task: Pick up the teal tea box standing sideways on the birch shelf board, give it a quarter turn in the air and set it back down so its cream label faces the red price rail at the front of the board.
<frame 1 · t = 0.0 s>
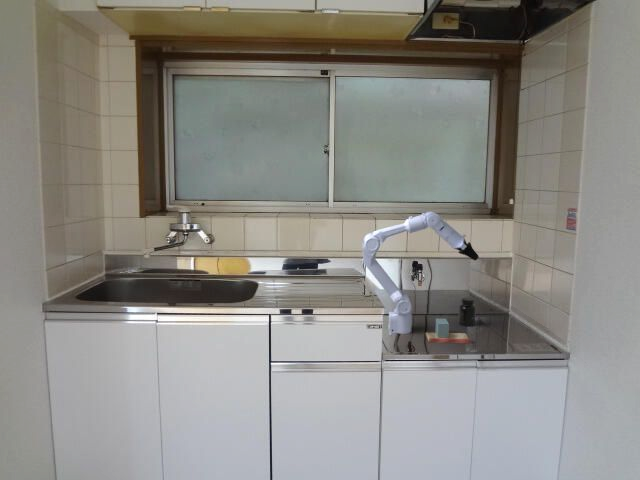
hand: (474, 256, 178), 32 cm above the worktop, tool tilted 50°, fingers open, 7 cm apart
tea box: (441, 335, 179), point 1 cm above the worktop, touching shelf board
shelf board: (447, 340, 177), on the worktop
supplement bottle: (466, 326, 192), on the worktop
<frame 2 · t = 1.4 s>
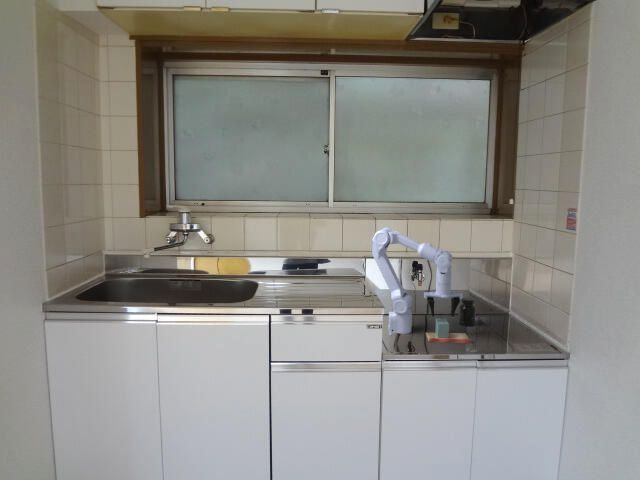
hand: (442, 315, 178), 9 cm above the worktop, tool pointing down, fingers open, 7 cm apart
nothing on the worktop moved.
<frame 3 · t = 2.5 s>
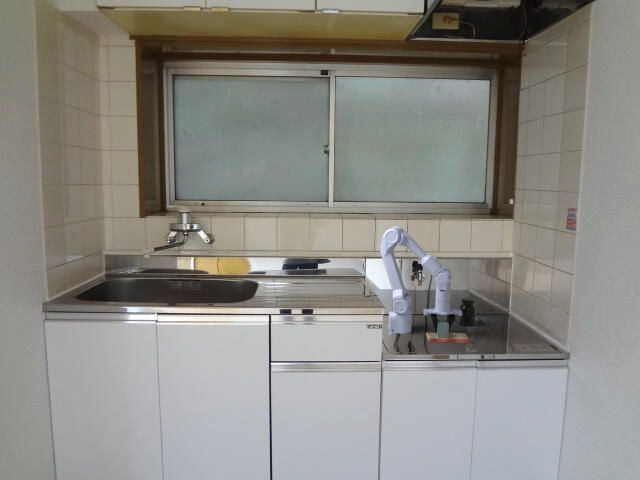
hand: (441, 332, 179), 2 cm above the worktop, tool pointing down, fingers closed on tea box, 4 cm apart
tea box: (441, 335, 179), point 1 cm above the worktop, touching gripper, shelf board
everything else where it was.
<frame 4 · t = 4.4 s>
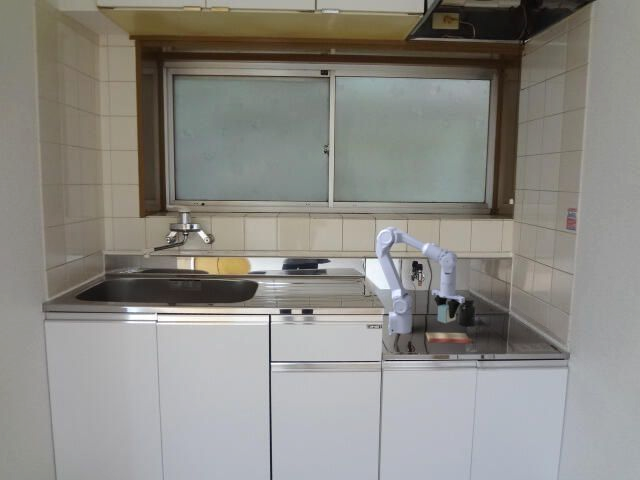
hand: (447, 316, 176), 9 cm above the worktop, tool pointing down, fingers closed on tea box, 4 cm apart
tea box: (446, 320, 177), point 8 cm above the worktop, touching gripper
everything else where it was.
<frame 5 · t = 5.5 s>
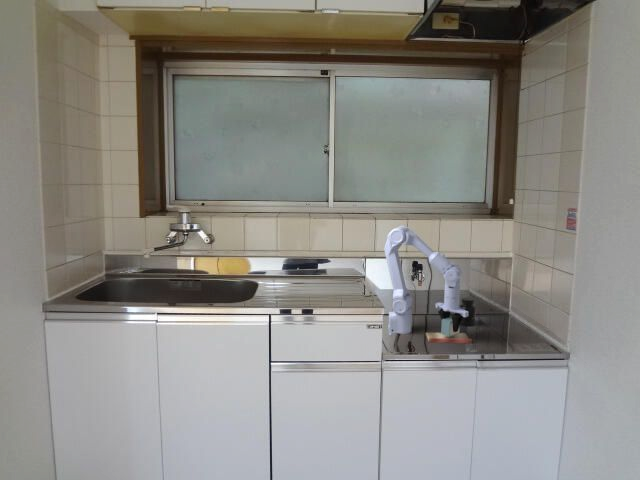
hand: (450, 329, 176), 4 cm above the worktop, tool pointing down, fingers closed on tea box, 4 cm apart
tea box: (450, 333, 177), point 3 cm above the worktop, touching gripper
everything else where it was.
when the fingers open (4 cm above the worktop, at t = 6.5 s): tea box stays where it is, resting on shelf board.
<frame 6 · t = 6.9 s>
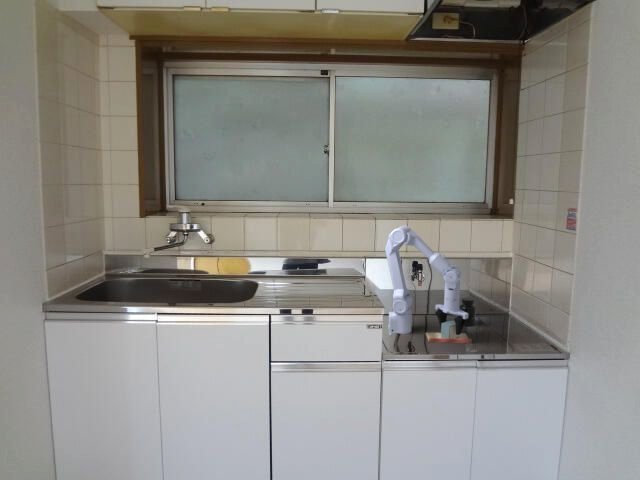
hand: (450, 331, 176), 4 cm above the worktop, tool pointing down, fingers open, 7 cm apart
tea box: (450, 337, 177), point 1 cm above the worktop, touching shelf board
everything else where it was.
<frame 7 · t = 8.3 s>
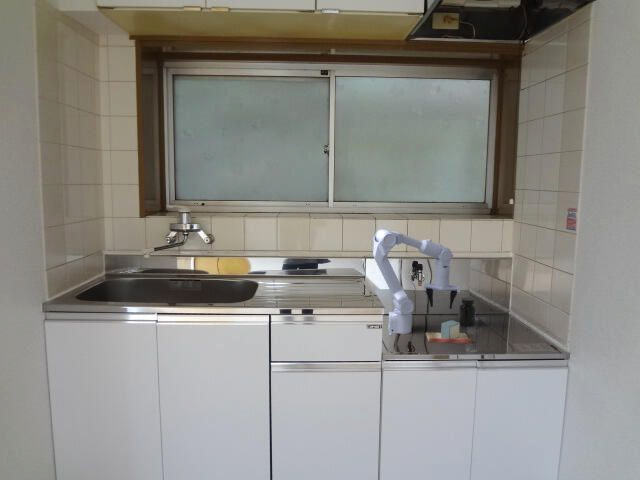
hand: (441, 307, 186), 10 cm above the worktop, tool pointing down, fingers open, 7 cm apart
nothing on the worktop moved.
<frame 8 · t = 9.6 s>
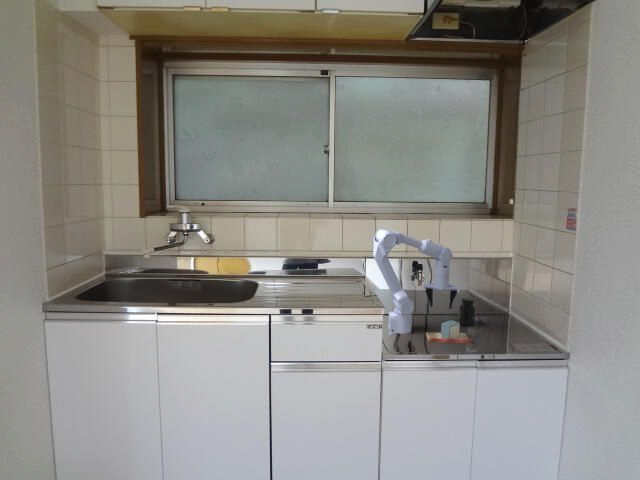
hand: (440, 307, 186), 10 cm above the worktop, tool pointing down, fingers open, 7 cm apart
nothing on the worktop moved.
at the end: tea box 0.3 cm from the target spot on the shelf board, point 1.0 cm above the shelf board's base; tea box tilted 0°; the gripper is holding nothing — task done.
